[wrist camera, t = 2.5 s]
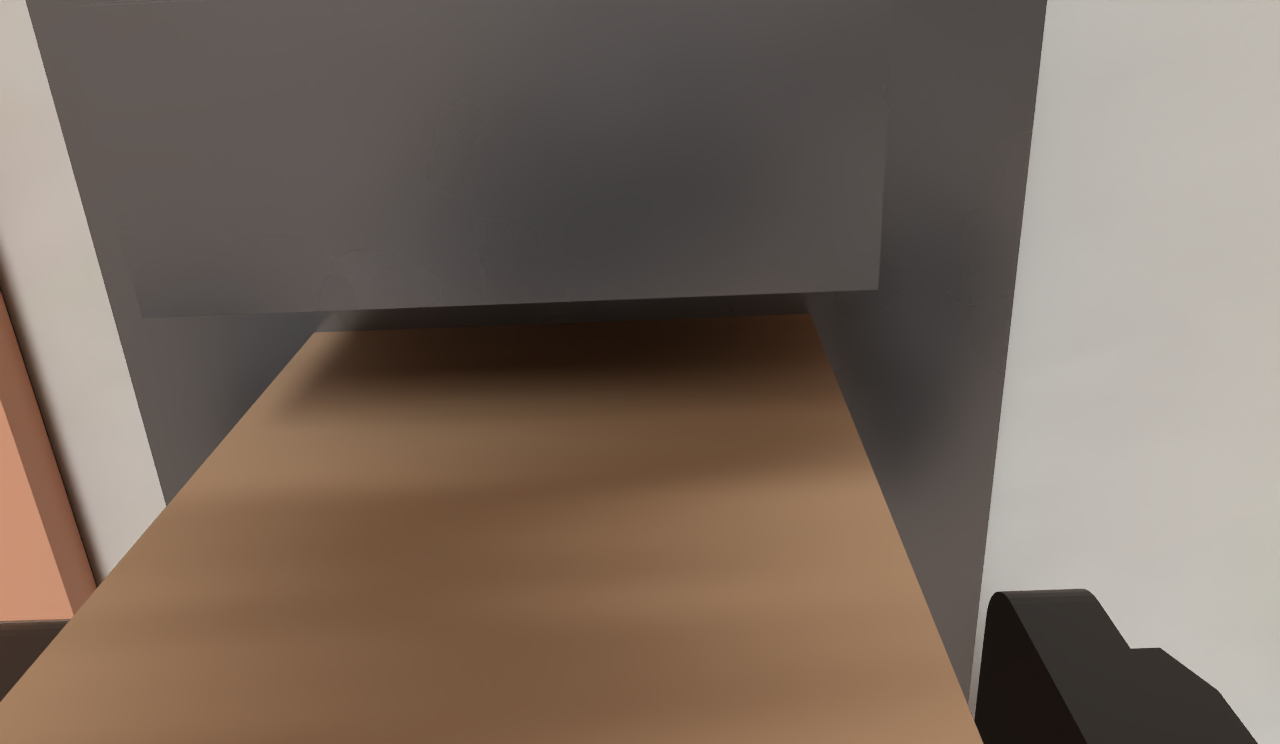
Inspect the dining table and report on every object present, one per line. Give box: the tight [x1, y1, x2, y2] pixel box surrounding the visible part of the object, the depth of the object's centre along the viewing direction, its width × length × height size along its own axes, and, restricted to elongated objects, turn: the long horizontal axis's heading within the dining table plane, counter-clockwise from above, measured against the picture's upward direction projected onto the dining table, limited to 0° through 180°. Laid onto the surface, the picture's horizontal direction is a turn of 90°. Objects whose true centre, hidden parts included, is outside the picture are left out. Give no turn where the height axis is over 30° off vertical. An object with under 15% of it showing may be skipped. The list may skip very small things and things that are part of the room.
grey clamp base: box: [26, 0, 1047, 704], centre depth 9 cm, size 9×14×8 cm, turn 3°
